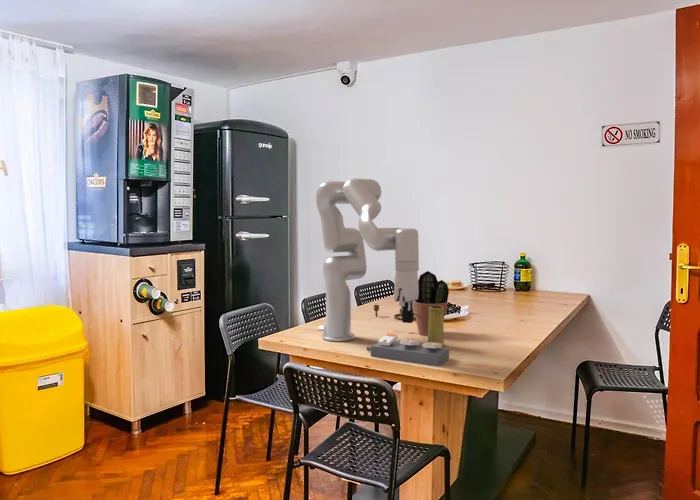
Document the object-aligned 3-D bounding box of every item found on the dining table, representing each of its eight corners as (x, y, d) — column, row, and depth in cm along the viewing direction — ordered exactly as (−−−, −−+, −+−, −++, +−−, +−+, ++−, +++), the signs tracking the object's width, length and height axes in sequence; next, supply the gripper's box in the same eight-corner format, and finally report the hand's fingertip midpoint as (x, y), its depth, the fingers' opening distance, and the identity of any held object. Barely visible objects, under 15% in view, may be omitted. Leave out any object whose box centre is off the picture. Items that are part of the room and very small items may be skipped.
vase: (442, 343, 199) (442, 305, 198) (445, 347, 193) (446, 308, 192) (425, 343, 199) (426, 305, 198) (428, 348, 193) (429, 308, 192)
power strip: (360, 354, 184) (360, 343, 184) (373, 348, 193) (373, 337, 192) (438, 366, 170) (438, 353, 170) (449, 358, 179) (449, 346, 178)
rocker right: (422, 346, 174) (422, 342, 174) (430, 345, 180) (430, 341, 180) (434, 348, 172) (434, 344, 172) (441, 347, 178) (441, 343, 178)
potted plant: (420, 338, 207) (420, 273, 205) (407, 331, 220) (407, 270, 218) (453, 336, 210) (453, 272, 208) (438, 328, 223) (438, 268, 222)
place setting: (404, 324, 235) (404, 311, 234) (371, 318, 249) (371, 305, 249) (429, 318, 247) (429, 306, 247) (396, 312, 261) (396, 300, 261)
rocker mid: (399, 343, 178) (400, 339, 178) (408, 343, 184) (408, 339, 184) (410, 345, 176) (411, 341, 176) (419, 344, 182) (419, 340, 182)
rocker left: (378, 344, 182) (378, 340, 182) (387, 336, 188) (387, 333, 188) (389, 345, 180) (388, 342, 180) (397, 338, 186) (397, 334, 186)
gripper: (405, 264, 184) (406, 317, 185) (386, 268, 171) (387, 325, 172) (426, 264, 180) (427, 319, 181) (408, 268, 167) (409, 327, 168)
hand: (407, 322), depth 177 cm, fingers closed
